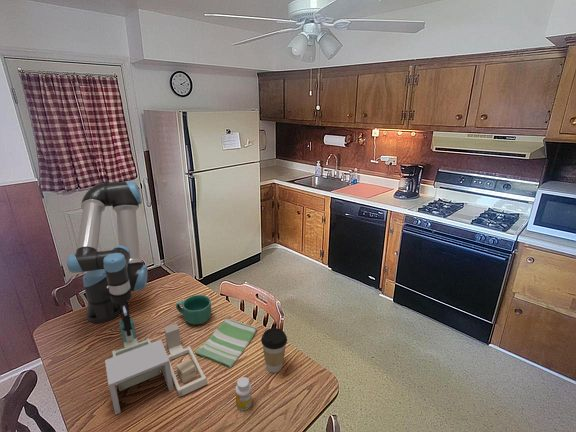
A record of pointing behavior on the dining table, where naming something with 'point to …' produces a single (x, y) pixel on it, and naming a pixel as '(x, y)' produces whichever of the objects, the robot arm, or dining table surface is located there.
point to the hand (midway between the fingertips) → (129, 337)
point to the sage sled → (128, 347)
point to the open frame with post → (176, 351)
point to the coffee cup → (274, 348)
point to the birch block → (186, 370)
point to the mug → (195, 309)
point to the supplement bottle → (243, 393)
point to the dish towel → (227, 342)
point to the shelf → (136, 367)
